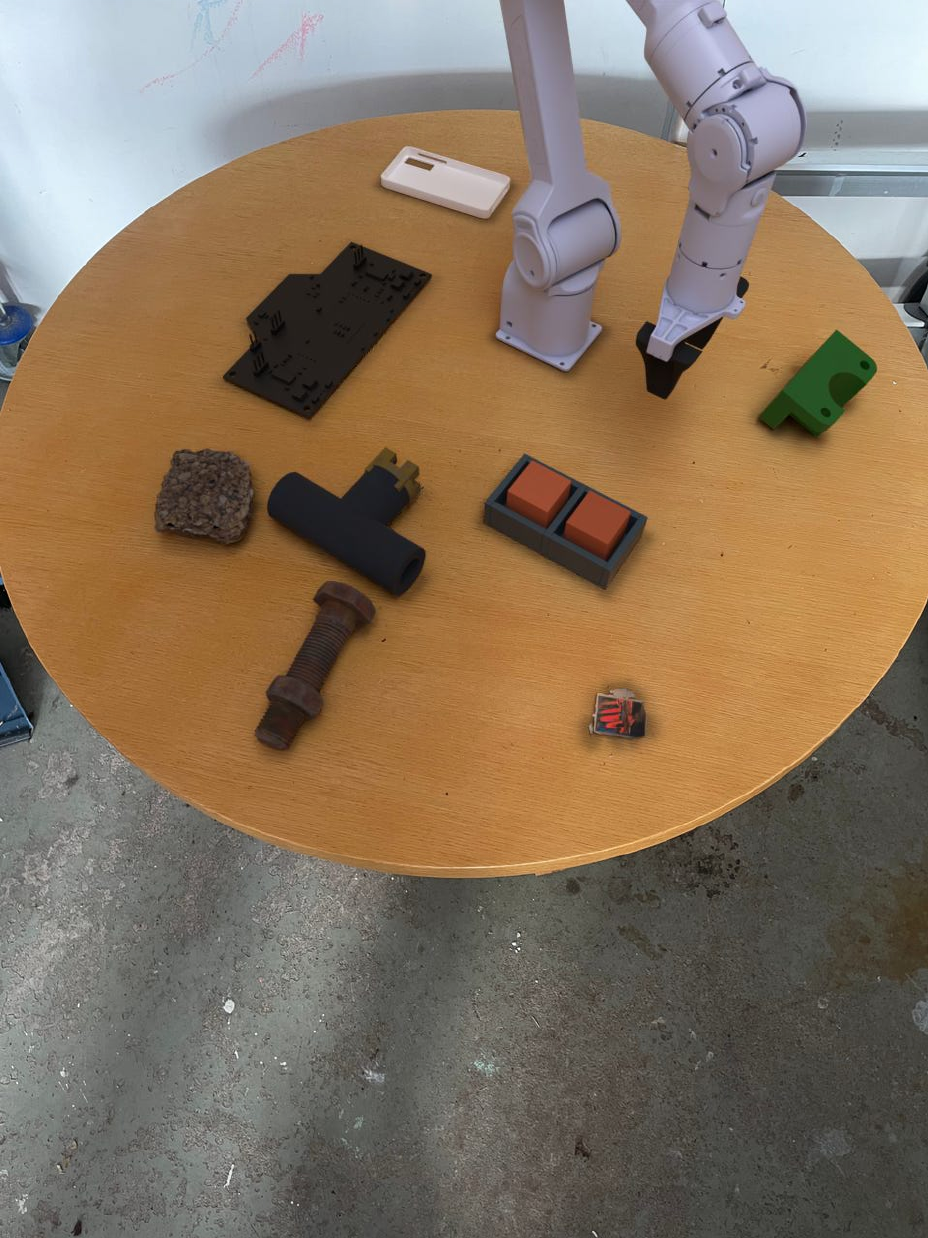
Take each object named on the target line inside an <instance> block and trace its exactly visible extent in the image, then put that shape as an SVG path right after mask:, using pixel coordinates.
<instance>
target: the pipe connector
mask: <svg viewBox="0 0 928 1238" xmlns="http://www.w3.org/2000/svg"><path fill="white" fill-rule="evenodd" d="M397 463H398V456H397V453H396V452H395V451H393V450H391V449H389V448H388V447H386V446H384V448H383V449H382V450H381V451H380V452H379V453H378V454H377V455H376V456H375V457H374V458H373V459H372V461H370V463H369V464H368V465H367V466H366V467H365V468H364V473H363V474H362V475H361V476H360V477H359V478H358V480H356V481H355V483H354V484H352V486H350V488H349V489H348V490H347V491H346V492H345V493H344V494H343V495H342V496H341V497H339V496H337V495H336V494H334V493H332V492H331V491H329V490H327V489H326V488H324V487H323V486H321V485H319V484H318V483H316V482H314V481H312V480H311V479H310V478H307V477H305V476H304V475H302V474H301V473H299V472H298V471H291V472H289V473H286V474H285V475H283V476H282V477H281V478H279V480H278V481H277V482H276V483H275V485H274V486H273V488H272V490H271V492H270V493H269V495H268V499H267V504H266V511H267V514H268V516H269V517H270V518H272V519H273V520H274V521H276V522H278V523H279V524H281V525H283V526H284V527H286V528H288V529H289V530H291V531H292V532H294V533H295V534H297V535H298V536H300V537H302V538H304V539H305V540H306V541H308V542H310V543H311V544H313V545H315V546H316V547H318V548H319V549H321V550H322V551H324V552H325V553H327V554H329V555H331V557H334V558H335V559H336V560H338V561H340V562H341V563H343V564H344V565H346V566H347V567H349V568H351V569H352V570H354V571H356V572H357V573H359V574H361V575H362V576H364V577H365V578H367V579H369V580H370V581H371V582H373V583H375V584H376V585H378V586H380V587H381V588H383V589H384V590H386V591H388V592H389V593H390V594H392V595H394V596H397V597H398V596H401V595H403V594H404V593H406V592H407V591H408V590H409V588H411V587H412V586H413V584H414V583H415V582H416V580H417V579H418V577H419V576H420V573H421V571H422V570H423V567H424V564H425V562H426V557H427V556H426V555H427V553H426V549H424V548H423V547H421V546H420V545H418V544H416V543H415V542H414V541H412V540H410V539H408V538H406V537H405V536H403V535H402V534H400V533H398V532H396V531H395V530H393V529H392V528H390V527H389V525H390V524H391V523H392V522H393V520H394V519H395V518H396V517H397V516H398V515H399V514H402V513H403V512H404V511H406V509H408V507H409V506H410V505H411V503H412V502H413V501H414V500H415V499H416V498H417V497H418V495H419V494H420V493H421V492H422V490H421V489H422V487H421V483H420V482H419V481H417V480H416V479H417V478H418V477H419V476H420V466H419V465H417V464H416V463H414V462H412V461H411V460H409V459H407V460H406V461H405V462H404V463H403V464H402V465H401V466H400V467H399V466H397V465H396V464H397Z"/></svg>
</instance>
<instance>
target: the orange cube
mask: <svg viewBox="0 0 928 1238" xmlns="http://www.w3.org/2000/svg"><path fill="white" fill-rule="evenodd" d="M570 486H571V480H569V479H567V478H565V477H563V476H561V475H559V474H557V473H555V472H554V471H552V470H550V469H548V468H546V467H544V466H542V465H540V464H538V463H536V462H534V461H531V462H530V463H529V465H528V466H527V467H526V468H525V470H524V471H523V472H522V473H521V475H520V476H519V477H518V478H517V480H516V481H515V482H514V483H513V485H512V486H511V487H510V488H509V490H508V493H507V504H506V508H508V509H510V510H512V511H514V512H515V513H517V514H519V515H521V516H523V517H525V518H527V519H528V520H530V521H532V522H534V523H536V524H538V525H540V526H541V527H543V528H545V529H546V530H547V529H548V527H549V526H550V525H551V523H552V522H553V521H554V519H555V518H556V517H557V515H558V514H559V513H560V511H561V510H562V509H563V507H564V506H565V505H566V503H567V502H568V496H569V491H570Z"/></svg>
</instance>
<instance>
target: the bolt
mask: <svg viewBox="0 0 928 1238" xmlns="http://www.w3.org/2000/svg"><path fill="white" fill-rule="evenodd" d="M312 601H313V602H314V603H315V604H316V605H317V606H318V607H319V608H320V609H319V611H318V613H317V615H316V616H315V621H314V622H313V625H312V626H311V628H310V630H309V631H308V634H307V635H306V637H305V639H304V641H303V642H302V644H301V646H300V648H299V649H298V651H297V653H296V654H295V657H294V659H293V660H292V663H291V664H290V667H289V668H288V670H287V671H286V673H285V674H279V675H277V676H276V677H275V678H274V679H272V681H271V682H270V684H269V686H268V688H267V689H266V691H265V696H266V698H267V700H268V701H269V704H268V708H266V711H265V712H264V714H263V715H262V718H260V721H259V722H258V725H257V726H256V729H254V737H255V738H257V742H259V743H260V744H262V745H264V746H267V747H269V748H272V749H274V750H276V751H283V752H284V751H285V750H290V748H289V747H291V746H292V745H291V744H292V743H293V740H295V737H296V736H297V734H296V733H298V732H299V729H300V728H301V727H300V726H302V723H304V720H312V719H314V718H315V717H317V716H318V715H319V712H320V711H321V708H322V707H323V704H324V700H323V697H322V695H321V694H320V691H321V688H322V686H323V685H324V682H326V678H328V675H329V674H330V672H331V669H332V668H333V666H334V665H335V662H336V661H337V659H338V656H339V655H340V652H342V649H343V647H344V646H345V643H346V642H347V640H348V638H349V637H350V636H351V634H352V633H353V631H354V629H355V628H357V629H359V630H360V629H361V628H364V627H365V626H366V625H368V624H371V622H372V621H373V619H374V617H375V615H376V614H377V610H376V607H375V605H374V603H373V601H372V600H371V598H370V597H368V596H367V595H366V594H364V593H362V592H361V591H360V590H358V589H356V588H355V587H353V586H352V585H350V584H347V583H345V582H342V581H335V580H327V581H325V582H324V583H322V585H321V586H320V587H319V588H318V589H317V591H316V593H315V595H314V596H313V598H312Z"/></svg>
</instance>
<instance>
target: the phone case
mask: <svg viewBox="0 0 928 1238" xmlns="http://www.w3.org/2000/svg"><path fill="white" fill-rule="evenodd" d="M419 154H421V155H419ZM426 156H428V157H426ZM430 157H431V158H430ZM433 158H435V159H433ZM409 159H411V160H414V161H418V162H421V163H424V164H427V165H431V166H433V167H432V168H431V169H430V170H428V169H425V168H421V167H418V166H415V165H412V164H409V163H406V162H407V161H408V160H409ZM439 160H440V161H439ZM380 183H381V184H380V185H381V186H382V187H383V188H384V189H387V190H391V191H394V192H397V193H400V194H403V195H407V196H409V197H412V198H415V199H419V200H422V201H425V202H428V203H431V204H435V205H438V206H441V207H443V208H444V207H445V208H447V209H450V210H454V211H457V212H460V213H463V214H466V215H470V216H473V217H476V218H478V219H483V220H484V219H485V220H486V219H487V220H488V219H489V218H491V216H492V214H494V211H495V210H496V209H497V208H498V206H499V205H500V203H501V202H502V200H503V199H504V197H505V196H506V195H507V193H508V191H509V190H510V189H511V177H510V176H508V175H506V174H504V173H499V172H496V171H493V170H490V169H486V168H483V167H480V166H477V165H473V164H470V163H467V162H463V161H460V160H457V159H453V158H451V157H448V156H447V157H446V156H443V155H441V154H437V153H434V152H431V151H427V150H423V149H421V148H417V147H414V146H410V145H409V146H407V145H405V146H404V147H403V148H402V149H401V150H400V151H399V152H398V153H397V155H396V156H395V157H394V158H393V160H392V161H391V162H390V163H389V164H388V166H387V167H386V168H385V169H384V171H383V172H381V174H380Z"/></svg>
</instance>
